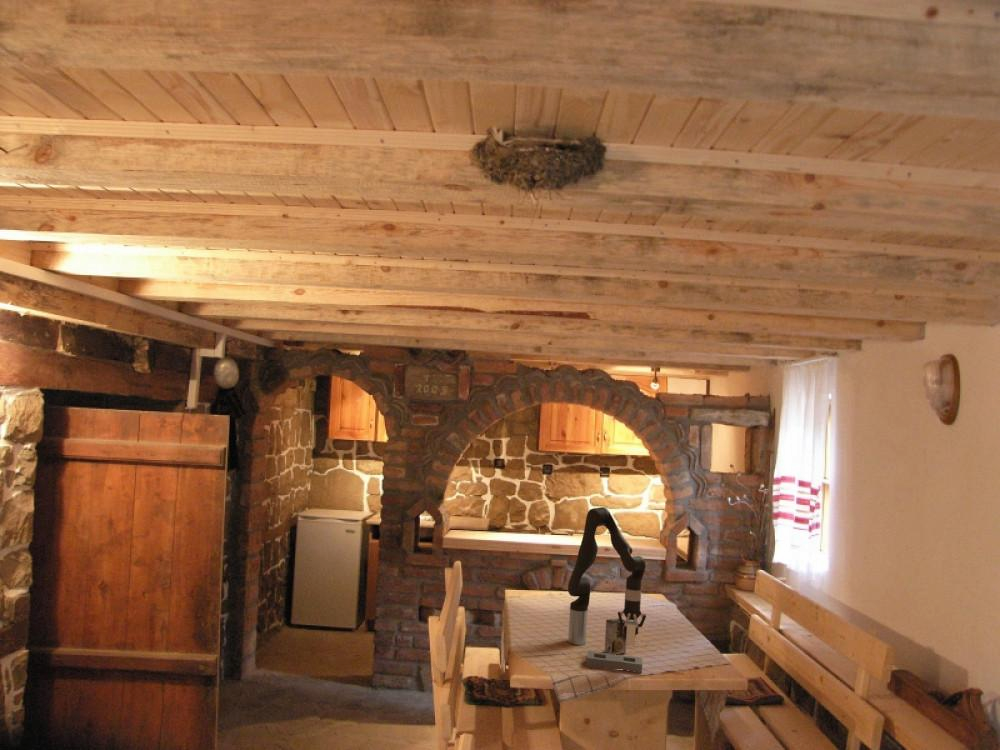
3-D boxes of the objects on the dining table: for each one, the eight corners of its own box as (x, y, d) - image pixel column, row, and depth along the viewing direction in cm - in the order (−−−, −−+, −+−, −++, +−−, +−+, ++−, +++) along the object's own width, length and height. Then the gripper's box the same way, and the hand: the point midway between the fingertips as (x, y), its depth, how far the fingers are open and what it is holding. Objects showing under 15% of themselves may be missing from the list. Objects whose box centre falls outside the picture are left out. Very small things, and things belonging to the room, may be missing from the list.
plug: (626, 642, 366) (627, 620, 366) (634, 643, 365) (635, 621, 365) (625, 645, 362) (627, 622, 362) (634, 646, 361) (635, 623, 361)
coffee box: (618, 649, 390) (620, 617, 390) (626, 653, 384) (628, 621, 385) (603, 651, 386) (605, 619, 386) (611, 655, 380) (613, 622, 381)
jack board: (587, 659, 371) (588, 651, 372) (641, 666, 367) (641, 657, 367) (586, 666, 362) (586, 657, 362) (641, 673, 357) (642, 664, 357)
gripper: (647, 598, 367) (645, 634, 366) (618, 595, 369) (615, 630, 369) (648, 602, 359) (646, 638, 359) (617, 598, 362) (615, 635, 361)
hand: (630, 634), depth 364 cm, fingers closed on plug, 4 cm apart
